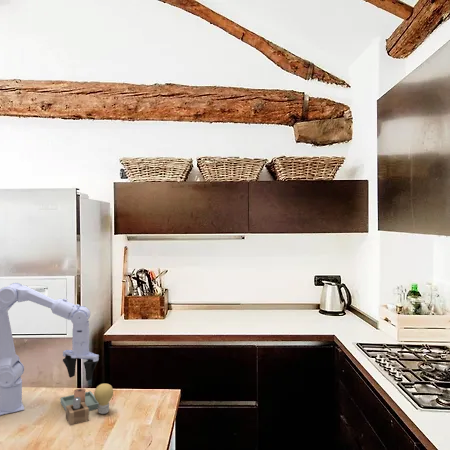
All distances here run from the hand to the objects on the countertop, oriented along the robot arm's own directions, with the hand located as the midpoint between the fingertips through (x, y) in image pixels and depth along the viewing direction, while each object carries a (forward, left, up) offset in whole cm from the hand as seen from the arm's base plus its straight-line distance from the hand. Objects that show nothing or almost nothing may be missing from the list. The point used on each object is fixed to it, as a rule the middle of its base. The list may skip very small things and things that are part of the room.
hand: (80, 378), depth 150 cm
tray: (0, 0, -10) cm, 10 cm away
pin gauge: (+10, -4, -10) cm, 15 cm away
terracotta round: (0, 0, -9) cm, 9 cm away
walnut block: (+10, -4, -10) cm, 15 cm away
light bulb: (+10, +5, -10) cm, 15 cm away
